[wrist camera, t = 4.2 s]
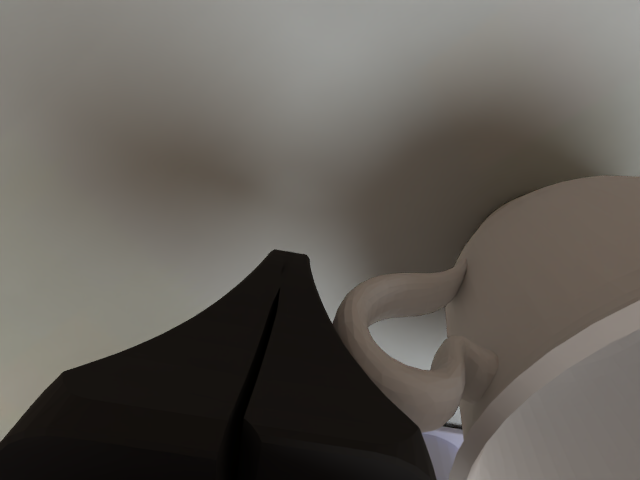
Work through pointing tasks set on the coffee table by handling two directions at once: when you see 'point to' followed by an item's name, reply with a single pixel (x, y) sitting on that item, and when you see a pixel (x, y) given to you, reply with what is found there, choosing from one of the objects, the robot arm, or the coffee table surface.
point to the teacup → (526, 337)
